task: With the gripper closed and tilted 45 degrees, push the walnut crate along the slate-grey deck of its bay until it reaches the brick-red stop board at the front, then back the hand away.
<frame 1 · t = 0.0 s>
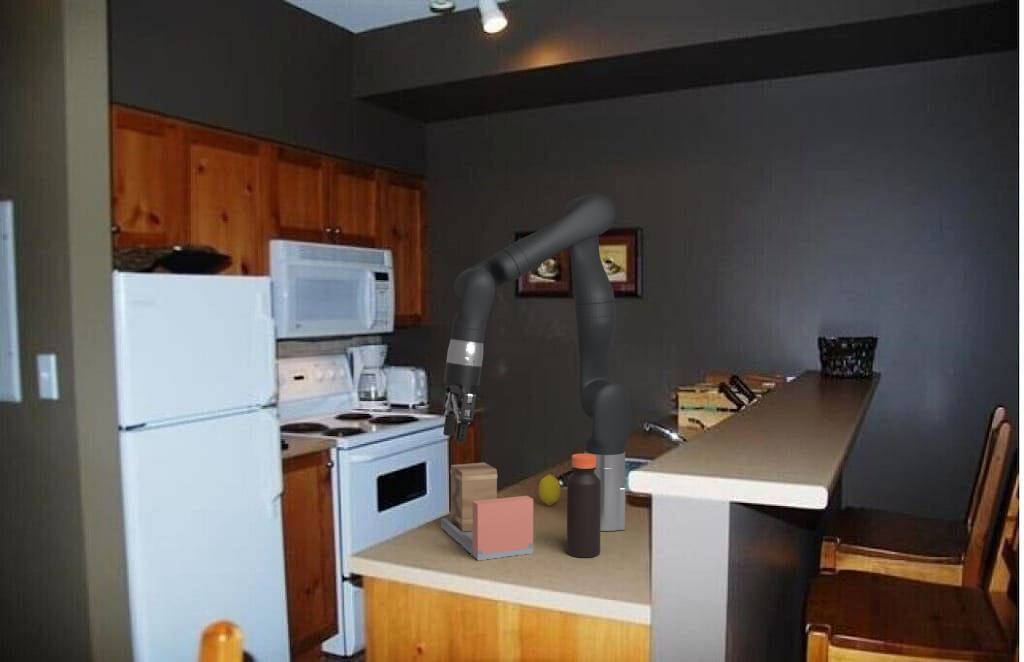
hand: (453, 438, 163), 22 cm above the table, tool pointing down, fingers open, 8 cm apart
lemon: (549, 506, 195), on the table
crate: (473, 496, 173), point 8 cm above the table, slide at 0.0 cm
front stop: (503, 554, 156), resting on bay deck
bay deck: (484, 540, 166), on the table
bottle: (583, 554, 158), on the table
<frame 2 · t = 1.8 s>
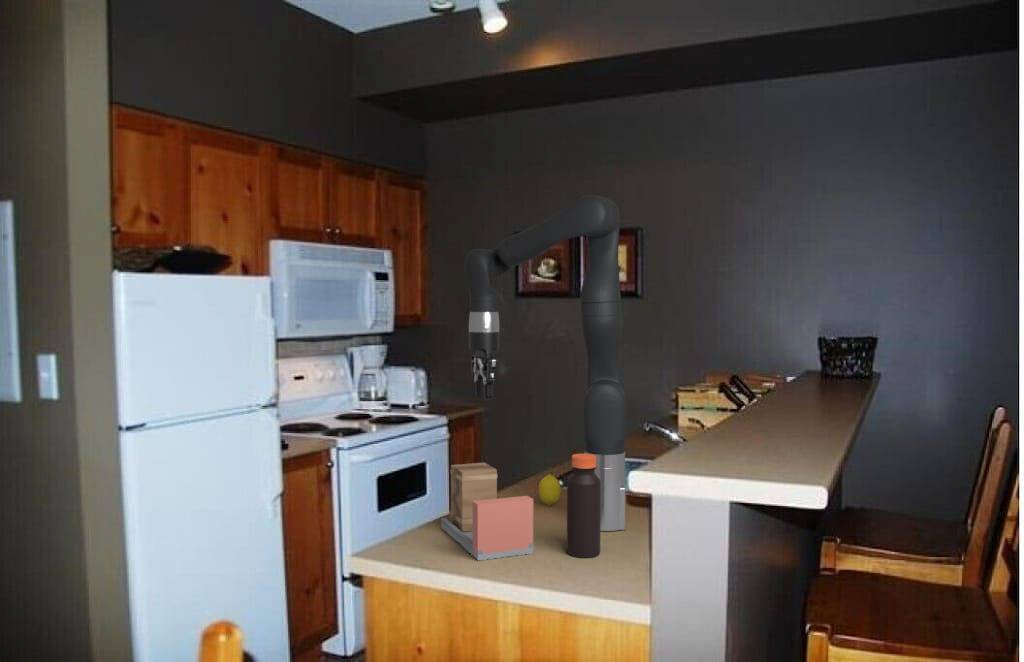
hand: (484, 398, 192), 27 cm above the table, tool pointing down, fingers open, 5 cm apart
nothing on the table moved.
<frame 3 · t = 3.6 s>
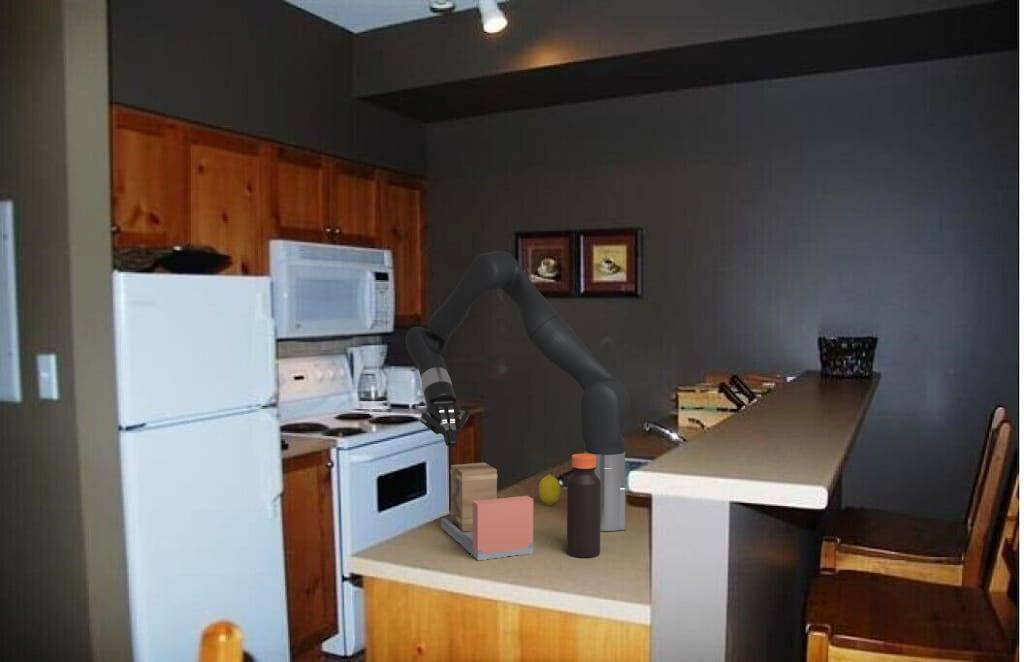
hand: (452, 445, 186), 17 cm above the table, tool tilted 45°, fingers closed
nothing on the table moved.
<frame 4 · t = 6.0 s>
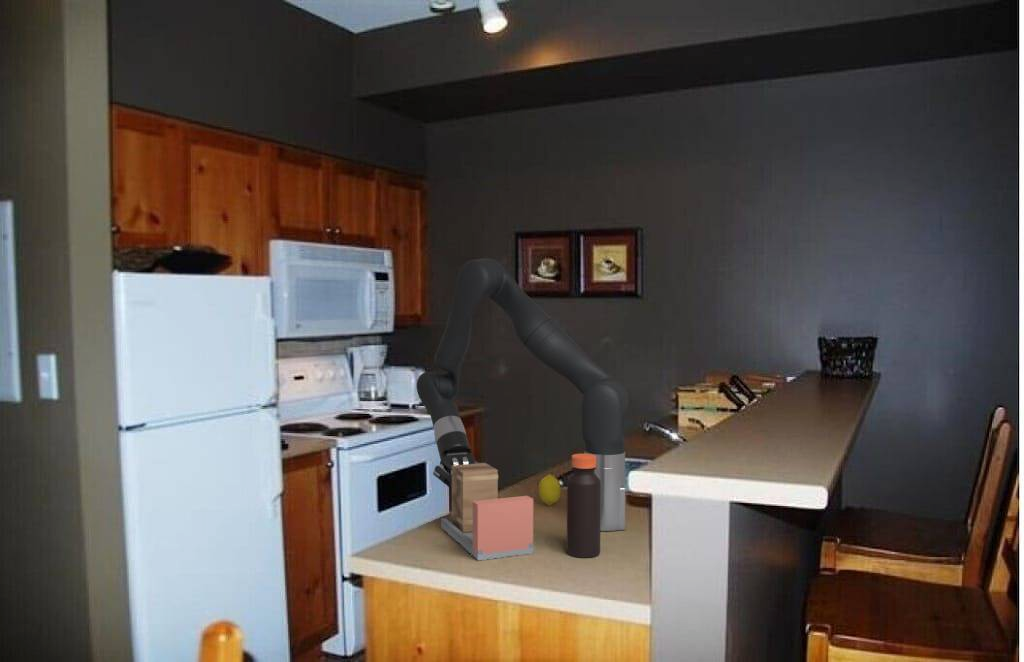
hand: (468, 501, 177), 6 cm above the table, tool tilted 45°, fingers closed
crate: (474, 496, 172), point 8 cm above the table, slide at 0.5 cm, touching gripper
everything else where it was.
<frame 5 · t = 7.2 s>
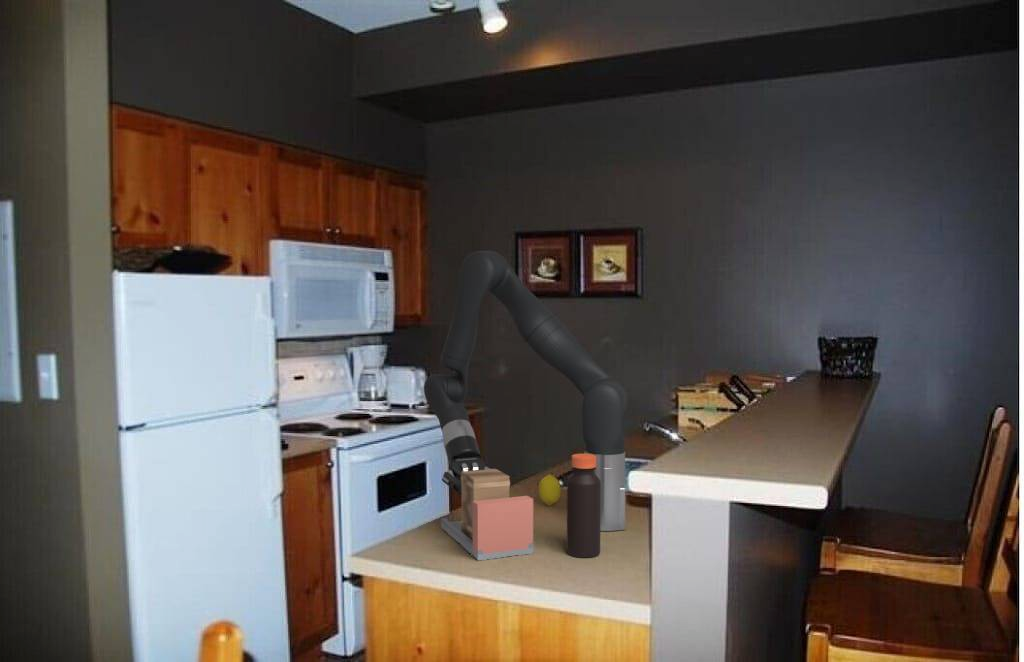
hand: (478, 508, 170), 6 cm above the table, tool tilted 45°, fingers closed
crate: (485, 504, 166), point 8 cm above the table, slide at 7.4 cm, touching gripper
everything else where it was.
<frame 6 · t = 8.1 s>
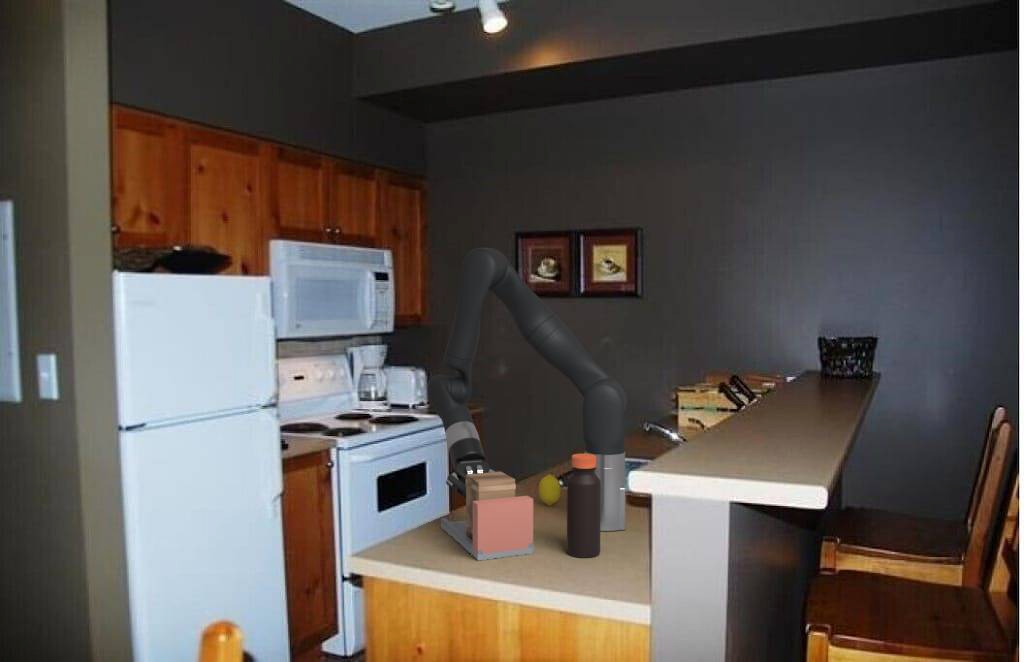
hand: (483, 511, 167), 6 cm above the table, tool tilted 45°, fingers closed
crate: (490, 507, 163), point 8 cm above the table, slide at 10.5 cm, touching gripper
everything else where it was.
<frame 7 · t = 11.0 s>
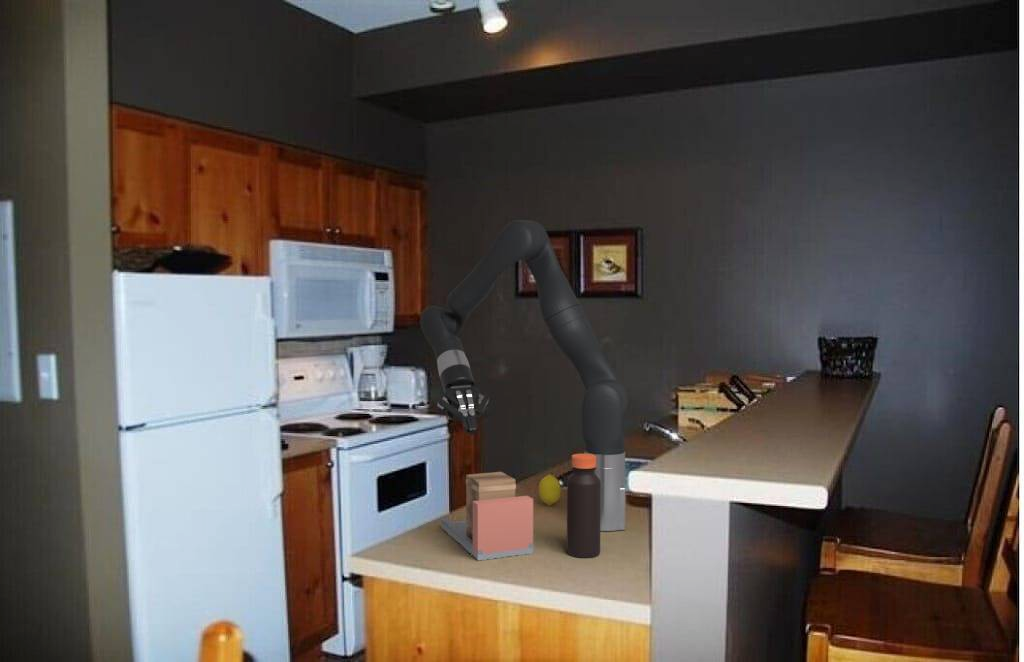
hand: (472, 432, 175), 22 cm above the table, tool tilted 45°, fingers closed
crate: (490, 507, 163), point 8 cm above the table, slide at 10.6 cm
everything else where it was.
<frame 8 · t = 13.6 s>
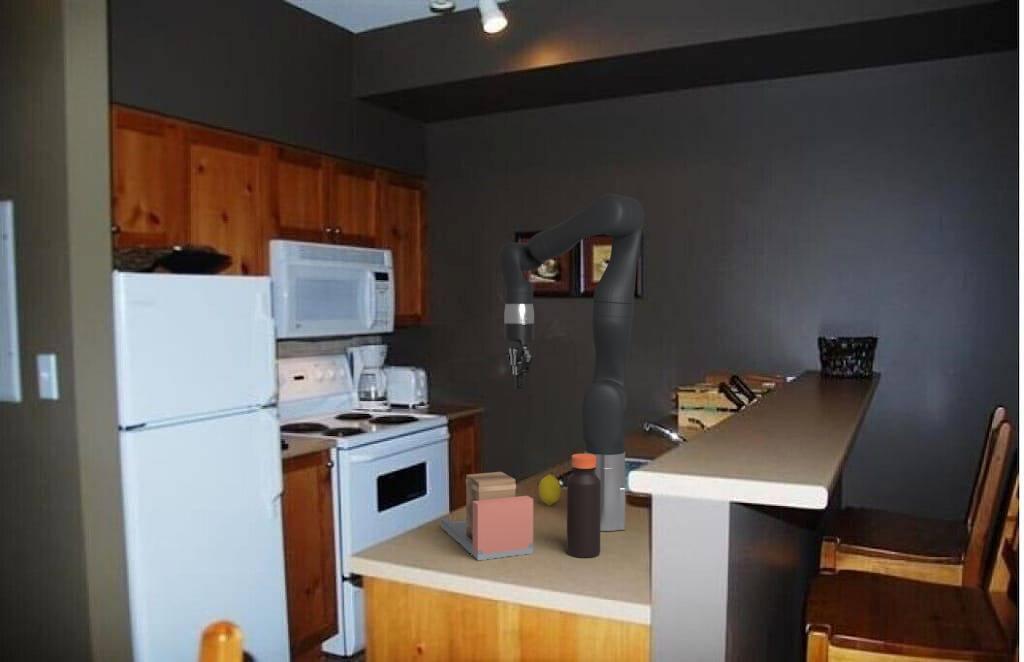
hand: (519, 389, 197), 29 cm above the table, tool pointing down, fingers closed
nothing on the table moved.
at the end: crate slide at 10.6 cm; crate 7.1 cm from the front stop (horizontally) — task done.
